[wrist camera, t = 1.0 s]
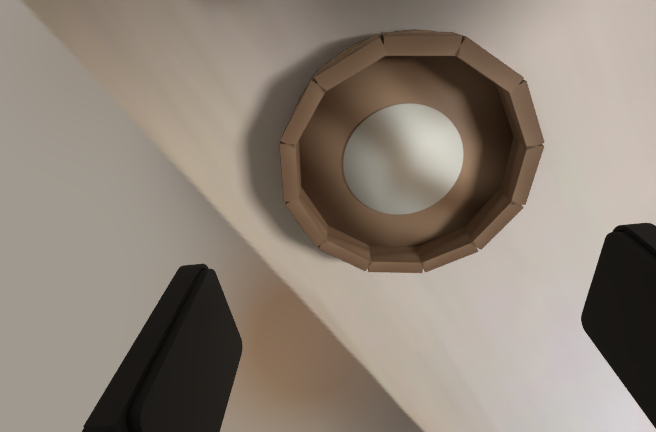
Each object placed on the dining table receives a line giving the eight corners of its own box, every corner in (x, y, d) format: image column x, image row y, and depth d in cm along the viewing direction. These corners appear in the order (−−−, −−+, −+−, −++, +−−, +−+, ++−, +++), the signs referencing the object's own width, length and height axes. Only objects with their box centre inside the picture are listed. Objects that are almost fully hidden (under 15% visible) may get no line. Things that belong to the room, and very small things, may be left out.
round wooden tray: (366, -31, 24) (369, -35, 21) (575, 117, 29) (602, 131, 26) (250, 193, 34) (241, 212, 31) (422, 278, 38) (429, 302, 35)
